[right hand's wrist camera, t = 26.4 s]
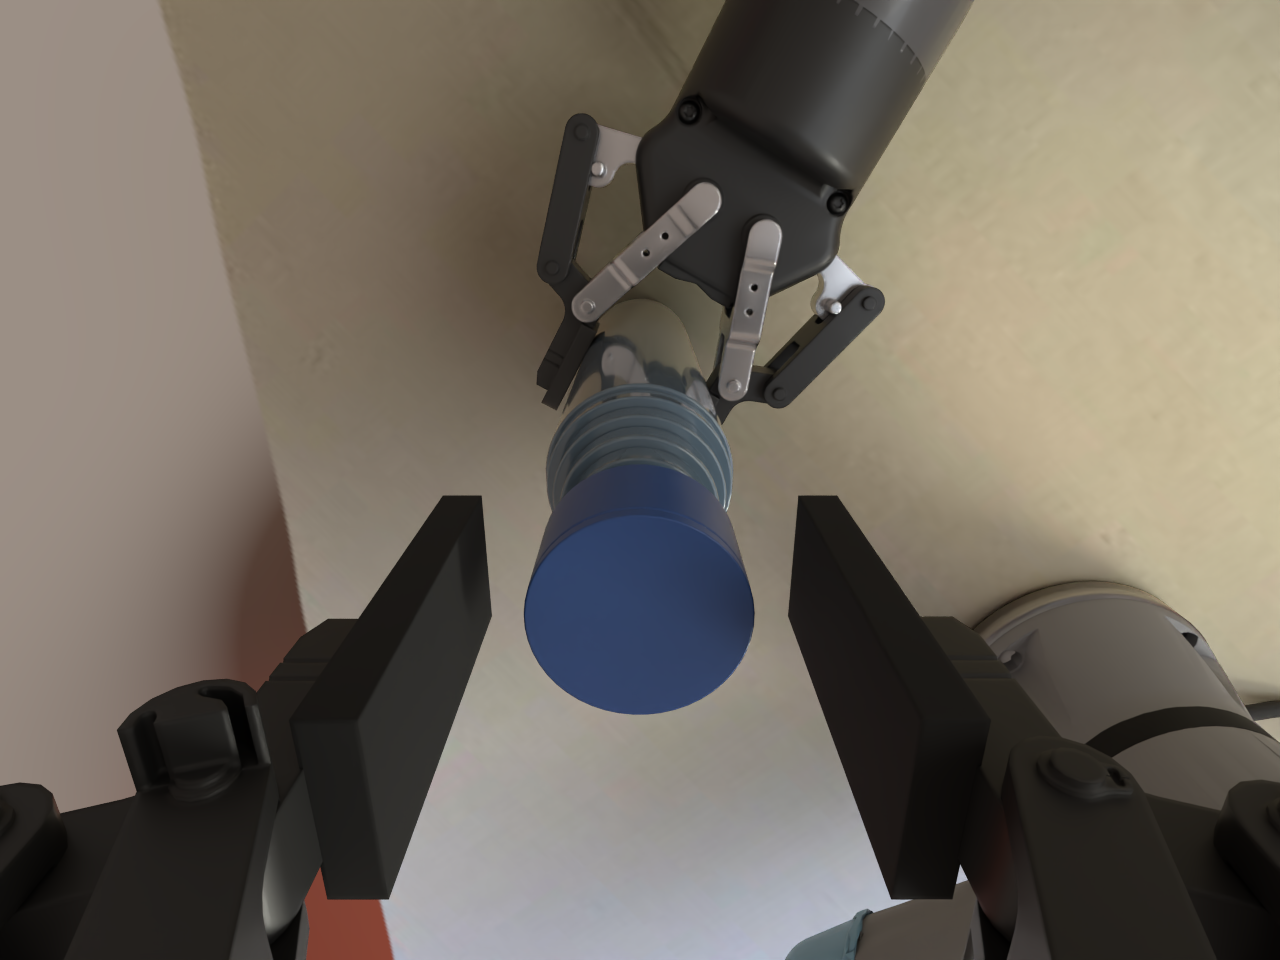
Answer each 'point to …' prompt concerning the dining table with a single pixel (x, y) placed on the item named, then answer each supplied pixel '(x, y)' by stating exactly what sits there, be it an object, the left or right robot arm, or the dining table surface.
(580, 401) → the bottle
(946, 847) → the right robot arm
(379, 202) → the dining table surface
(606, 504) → the cap
